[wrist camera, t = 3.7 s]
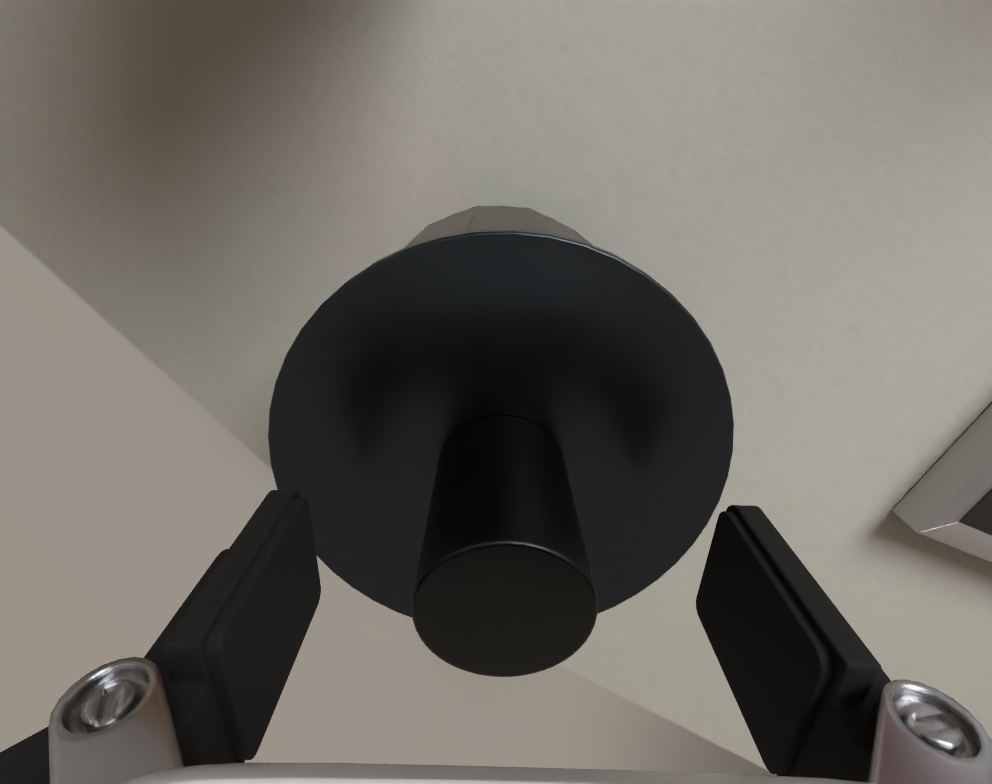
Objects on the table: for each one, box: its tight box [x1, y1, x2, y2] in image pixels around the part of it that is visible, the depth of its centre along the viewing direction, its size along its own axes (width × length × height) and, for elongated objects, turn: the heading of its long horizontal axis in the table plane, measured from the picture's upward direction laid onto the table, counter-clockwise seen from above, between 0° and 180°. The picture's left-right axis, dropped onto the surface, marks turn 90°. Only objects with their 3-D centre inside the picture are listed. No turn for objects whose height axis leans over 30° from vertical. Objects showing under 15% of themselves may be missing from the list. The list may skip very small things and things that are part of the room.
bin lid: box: [268, 229, 734, 677], centre depth 12 cm, size 13×13×6 cm
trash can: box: [406, 206, 592, 247], centre depth 20 cm, size 12×12×13 cm
